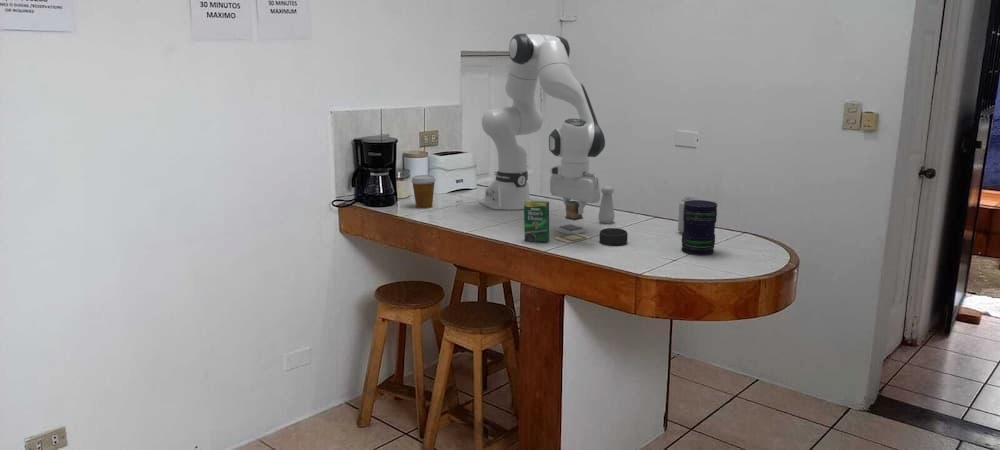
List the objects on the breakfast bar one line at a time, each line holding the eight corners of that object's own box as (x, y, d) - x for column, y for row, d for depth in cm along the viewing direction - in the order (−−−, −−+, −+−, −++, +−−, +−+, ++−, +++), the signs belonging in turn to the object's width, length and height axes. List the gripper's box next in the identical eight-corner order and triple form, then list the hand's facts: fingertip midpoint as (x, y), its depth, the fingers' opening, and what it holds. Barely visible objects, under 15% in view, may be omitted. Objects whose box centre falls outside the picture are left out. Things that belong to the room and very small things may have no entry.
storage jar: (694, 257, 212) (697, 207, 208) (674, 248, 220) (676, 201, 217) (721, 253, 216) (724, 205, 212) (700, 245, 224) (703, 199, 221)
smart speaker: (621, 247, 222) (622, 235, 222) (595, 244, 227) (595, 232, 226) (631, 241, 230) (631, 229, 229) (605, 238, 234) (605, 226, 233)
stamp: (574, 216, 234) (574, 200, 233) (582, 218, 231) (583, 202, 230) (565, 218, 232) (565, 202, 230) (573, 220, 229) (573, 204, 227)
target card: (554, 238, 233) (554, 237, 233) (576, 234, 239) (576, 232, 239) (568, 243, 228) (568, 241, 227) (591, 238, 233) (591, 236, 233)
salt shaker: (614, 224, 252) (615, 188, 249) (597, 223, 253) (598, 187, 250) (614, 220, 257) (616, 185, 254) (598, 220, 258) (599, 184, 255)
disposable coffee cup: (423, 203, 289) (422, 174, 286) (441, 206, 283) (440, 176, 280) (407, 207, 281) (406, 177, 278) (425, 210, 276) (424, 179, 273)
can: (685, 229, 245) (687, 195, 242) (704, 233, 240) (707, 198, 237) (673, 233, 240) (675, 198, 237) (693, 237, 235) (695, 201, 232)
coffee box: (523, 240, 231) (523, 201, 227) (526, 238, 233) (526, 199, 230) (546, 243, 227) (547, 203, 224) (549, 241, 230) (550, 201, 227)
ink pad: (556, 230, 244) (556, 226, 243) (570, 227, 247) (570, 223, 247) (571, 234, 238) (571, 230, 237) (585, 232, 241) (585, 227, 241)
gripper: (605, 173, 222) (604, 216, 225) (561, 166, 237) (560, 206, 241) (590, 175, 218) (589, 219, 221) (546, 167, 234) (546, 209, 237)
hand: (574, 212), depth 231 cm, fingers closed on stamp, 4 cm apart
